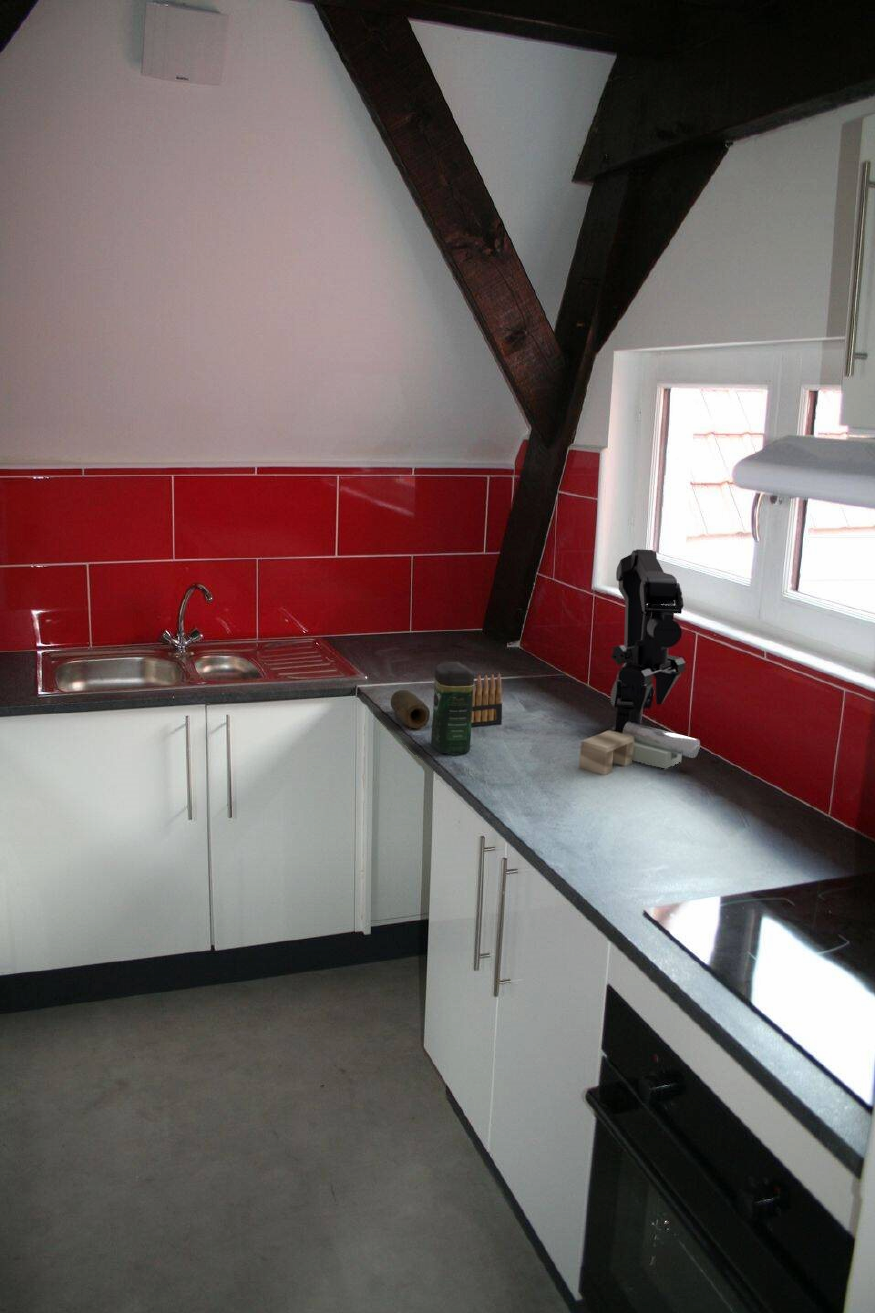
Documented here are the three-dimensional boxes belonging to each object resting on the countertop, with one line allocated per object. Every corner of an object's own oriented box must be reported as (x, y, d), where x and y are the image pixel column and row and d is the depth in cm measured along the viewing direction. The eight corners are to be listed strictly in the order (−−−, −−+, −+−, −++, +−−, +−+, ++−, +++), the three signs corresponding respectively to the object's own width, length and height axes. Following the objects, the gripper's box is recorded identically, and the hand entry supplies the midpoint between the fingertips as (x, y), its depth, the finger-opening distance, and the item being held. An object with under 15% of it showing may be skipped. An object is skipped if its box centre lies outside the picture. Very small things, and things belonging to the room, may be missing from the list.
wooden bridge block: (607, 756, 235) (609, 730, 233) (631, 763, 231) (634, 736, 230) (579, 767, 227) (581, 741, 225) (604, 775, 223) (606, 748, 221)
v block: (639, 750, 239) (640, 735, 239) (681, 762, 233) (682, 746, 232) (622, 757, 234) (624, 742, 233) (665, 769, 228) (666, 753, 227)
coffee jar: (474, 755, 231) (479, 669, 227) (437, 756, 229) (441, 670, 225) (463, 741, 240) (467, 658, 236) (427, 742, 239) (431, 658, 234)
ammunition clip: (497, 722, 255) (500, 672, 253) (501, 724, 254) (504, 674, 251) (457, 726, 251) (459, 675, 248) (461, 729, 249) (463, 677, 246)
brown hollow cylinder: (435, 730, 247) (436, 701, 246) (405, 732, 245) (406, 703, 243) (413, 711, 261) (414, 684, 259) (384, 713, 259) (385, 685, 257)
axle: (621, 741, 235) (623, 723, 235) (631, 737, 238) (632, 720, 238) (689, 760, 226) (691, 741, 225) (698, 755, 229) (700, 737, 228)
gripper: (643, 624, 241) (636, 692, 244) (598, 636, 227) (592, 708, 230) (689, 632, 234) (682, 703, 238) (646, 645, 220) (639, 720, 223)
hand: (648, 708), depth 232 cm, fingers open, 9 cm apart
